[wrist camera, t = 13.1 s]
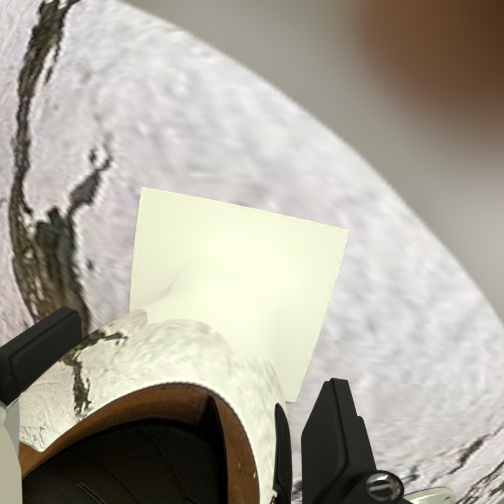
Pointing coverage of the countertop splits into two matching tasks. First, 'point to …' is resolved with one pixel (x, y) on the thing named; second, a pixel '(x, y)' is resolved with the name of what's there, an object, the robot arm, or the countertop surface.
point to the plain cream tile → (249, 247)
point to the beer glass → (160, 403)
